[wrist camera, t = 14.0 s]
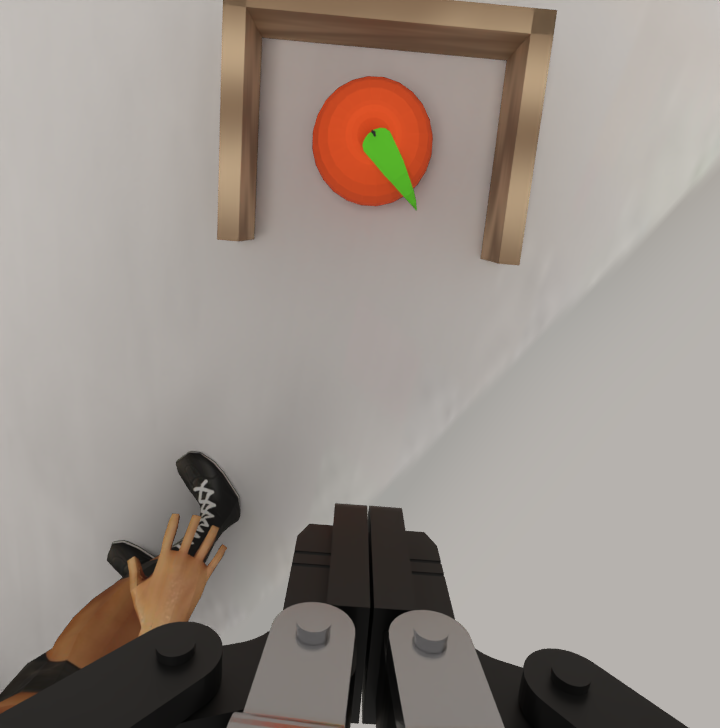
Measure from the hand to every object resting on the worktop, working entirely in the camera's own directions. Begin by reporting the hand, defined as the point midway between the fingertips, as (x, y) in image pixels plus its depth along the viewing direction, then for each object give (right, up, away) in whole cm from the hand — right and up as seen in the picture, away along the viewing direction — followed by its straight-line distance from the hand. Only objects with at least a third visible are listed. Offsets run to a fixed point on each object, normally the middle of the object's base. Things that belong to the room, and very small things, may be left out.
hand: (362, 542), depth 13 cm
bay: (+1, +18, +23) cm, 29 cm away
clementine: (+1, +17, +24) cm, 29 cm away
